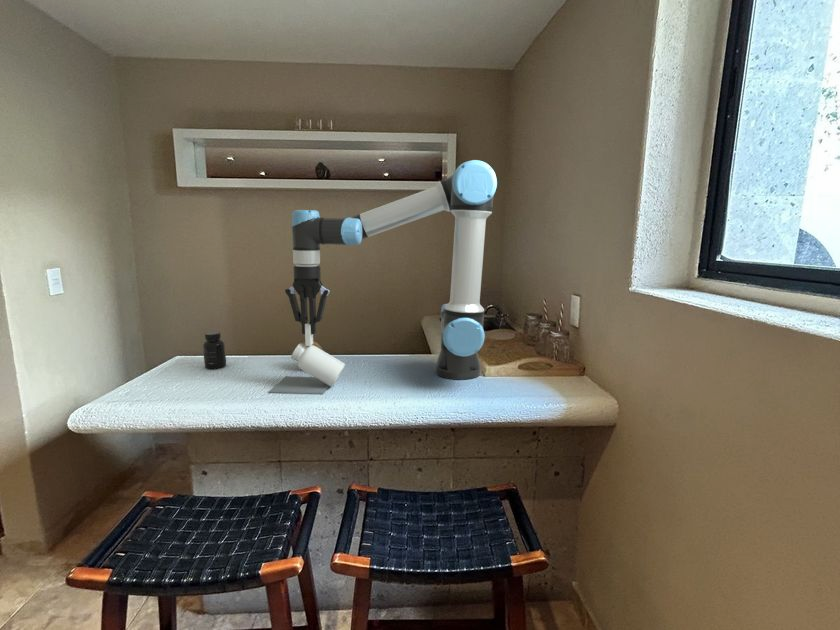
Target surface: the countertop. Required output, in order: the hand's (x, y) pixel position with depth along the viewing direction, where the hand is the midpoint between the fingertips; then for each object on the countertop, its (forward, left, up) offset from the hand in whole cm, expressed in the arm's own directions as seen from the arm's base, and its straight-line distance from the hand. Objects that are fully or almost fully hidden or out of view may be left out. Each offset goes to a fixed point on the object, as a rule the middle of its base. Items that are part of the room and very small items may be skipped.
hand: (309, 344), depth 134 cm
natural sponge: (+6, -16, -13) cm, 21 cm away
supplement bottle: (+39, -16, -13) cm, 44 cm away
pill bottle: (-9, 0, -10) cm, 13 cm away
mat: (+3, 0, -13) cm, 13 cm away
